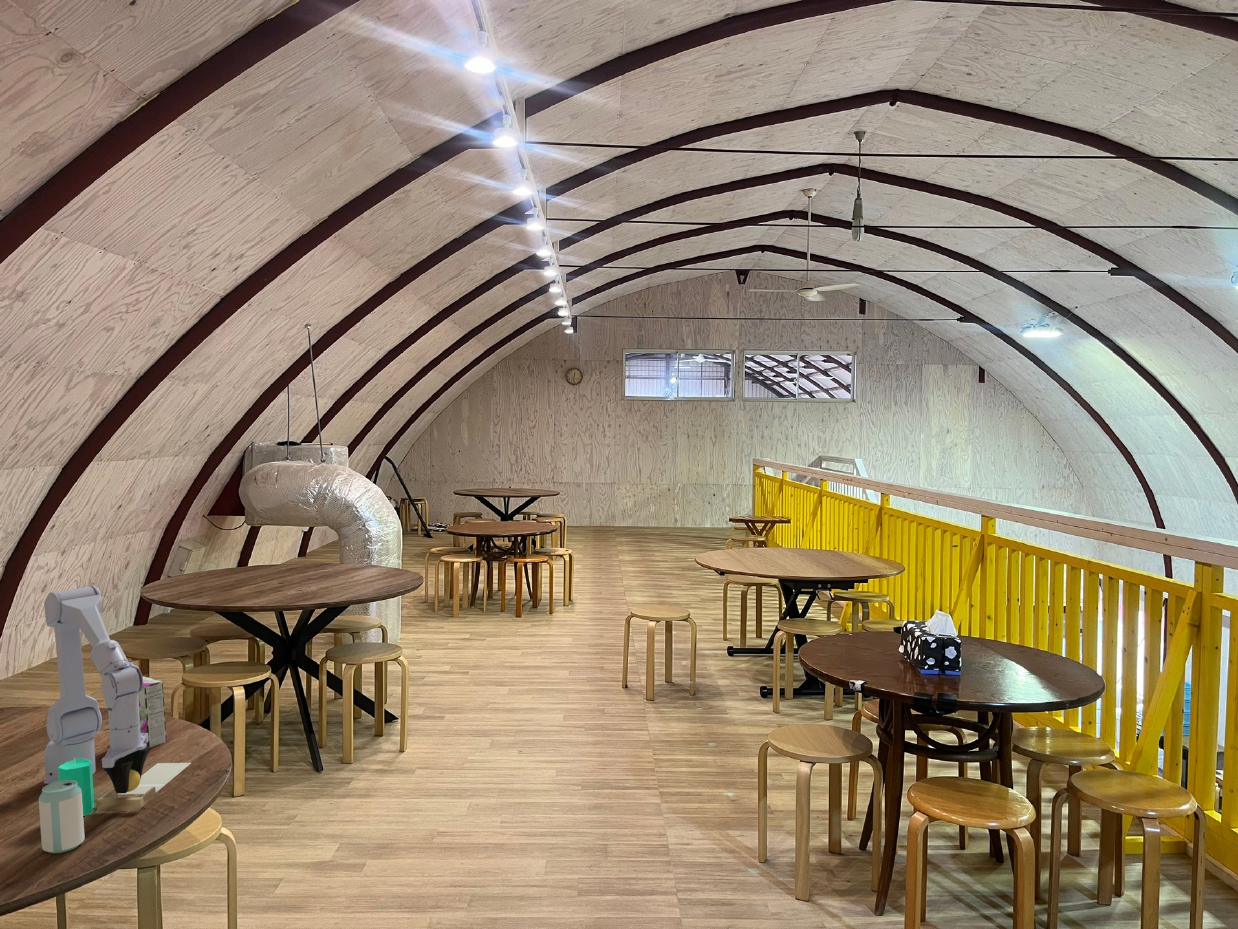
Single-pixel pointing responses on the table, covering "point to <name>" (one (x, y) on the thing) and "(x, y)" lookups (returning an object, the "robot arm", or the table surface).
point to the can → (61, 816)
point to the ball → (133, 780)
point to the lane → (158, 777)
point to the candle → (80, 780)
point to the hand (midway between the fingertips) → (128, 787)
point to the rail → (123, 801)
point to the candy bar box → (152, 711)
